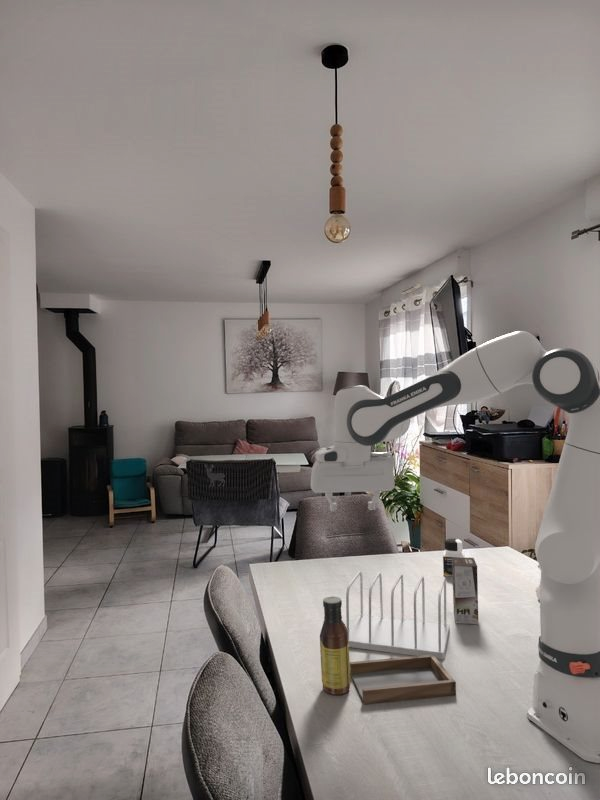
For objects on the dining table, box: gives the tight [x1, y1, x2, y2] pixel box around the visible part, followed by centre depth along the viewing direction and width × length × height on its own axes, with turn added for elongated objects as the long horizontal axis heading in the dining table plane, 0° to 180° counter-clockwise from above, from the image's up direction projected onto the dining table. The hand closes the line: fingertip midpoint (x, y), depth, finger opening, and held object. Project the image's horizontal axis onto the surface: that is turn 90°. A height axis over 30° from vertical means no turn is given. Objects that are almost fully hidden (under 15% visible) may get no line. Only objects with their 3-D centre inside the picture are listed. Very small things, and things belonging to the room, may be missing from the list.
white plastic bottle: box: [442, 538, 465, 577], centre depth 201 cm, size 7×7×12 cm
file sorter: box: [345, 571, 451, 660], centre depth 148 cm, size 25×17×16 cm
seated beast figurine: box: [535, 564, 541, 601], centre depth 172 cm, size 10×9×12 cm
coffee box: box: [451, 557, 479, 625], centre depth 161 cm, size 9×6×16 cm
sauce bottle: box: [319, 595, 351, 696], centre depth 123 cm, size 7×6×20 cm
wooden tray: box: [349, 655, 457, 705], centre depth 125 cm, size 13×20×3 cm, turn 98°
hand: (352, 510), depth 136 cm, fingers open, 8 cm apart
